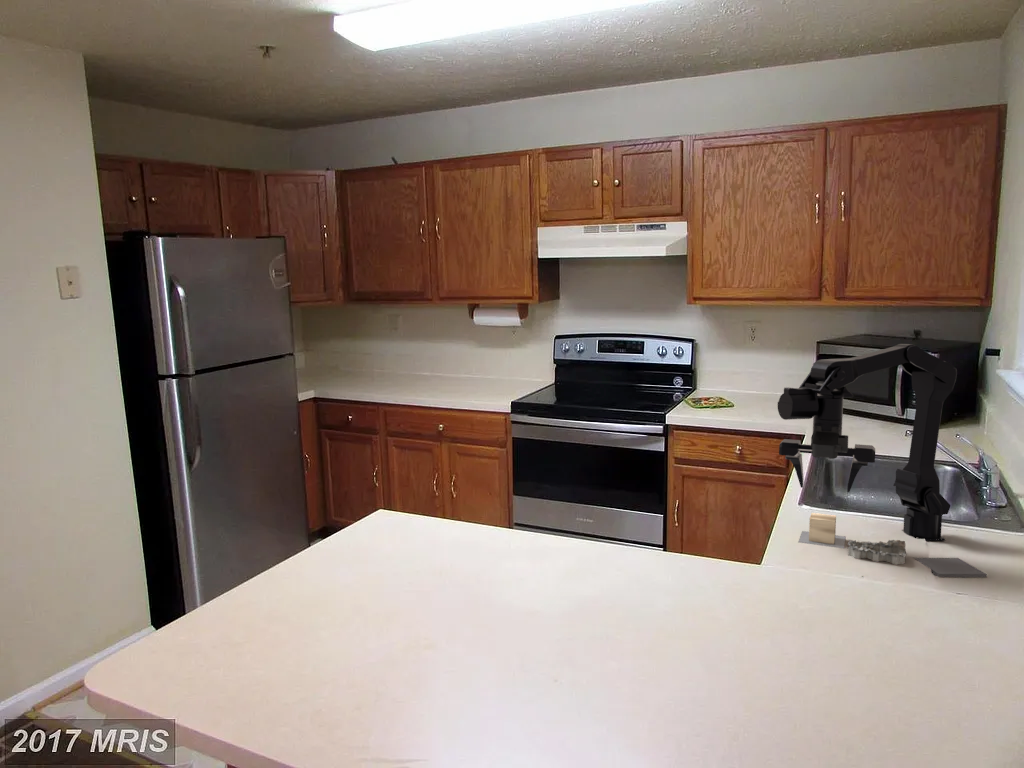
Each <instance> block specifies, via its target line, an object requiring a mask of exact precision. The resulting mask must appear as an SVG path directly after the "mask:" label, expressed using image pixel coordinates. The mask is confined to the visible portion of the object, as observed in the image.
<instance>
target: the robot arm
mask: <svg viewBox="0 0 1024 768" xmlns="http://www.w3.org/2000/svg"><path fill="white" fill-rule="evenodd" d="M897 366H900V367H901V368H902V370H903V371H904V372H905V373H907V374H908V375H910V376H911V388H912V390H913V392H914V394H915V397H916V405H915V413H914V419H913V426H912V427H913V428H912V434H911V442H910V447H909V449H910V450H909V454H908V455H909V456H908V460H907V461H908V462H907V463H906V464H905V466H904V467H903V468H902V469H901V468H897V469H896V471H895V480H894V483H893V487H895V493H896V495H897V496H898V498H899V500H900V503H901V505H902V506H904V507H906V513H905V514H904V515H903V529H901V531H902V532H903V533H904V534H906V535H908V536H910V537H912V538H914V539H917V540H925V541H946V538H945V537H943V536H942V524H943V521H942V520H943V515H948V514H949V512H950V510H951V504H950V503H949V502H948V501H947V500H946V499H945V498H944V496H943V495H942V494H941V493H940V490H941V489H940V488H941V487H940V485H941V484H940V479H939V476H938V473H937V471H936V468H935V461H936V453H937V447H938V440H939V432H940V425H941V420H942V419H941V418H942V413H943V405H944V402H945V400H947V398H948V397H949V396H950V394H951V393H952V392H953V391H954V387H955V383H956V381H957V377H958V376H957V375H958V370H957V368H956V367H955V366H954V365H953V364H952V363H951V362H950V361H945V360H942V359H941V358H939V357H937V356H935V355H933V354H931V353H929V352H926V351H925V350H923V349H921V348H920V347H919V346H917V344H916V345H915V344H913V343H912V344H911V343H910V344H909V343H898V344H896V345H894V346H891V347H886V348H883V349H879V350H875V351H872V352H868V353H864V354H861V355H857V356H853V357H847V358H828V359H827V358H826V359H824V358H823V359H818V360H816V361H815V362H814V363H813V364H812V366H811V367H810V368H811V369H810V371H809V374H807V376H806V377H805V379H804V380H803V381H802V383H801V384H800V385H799V387H796V388H794V387H790V386H789V387H784V388H783V393H782V394H781V395H780V396H779V399H778V401H777V411H778V415H779V416H780V417H781V419H783V420H785V421H787V420H788V421H789V420H810V419H812V418H813V419H812V420H813V421H812V435H811V437H810V444H803V443H801V440H800V439H788V438H784V439H783V440H782V441H780V443H779V446H778V455H780V456H785V460H789V461H790V462H791V463H792V465H793V468H794V469H795V473H796V476H797V479H798V481H799V486H800V488H804V483H805V482H804V481H805V480H804V478H805V477H804V466H803V455H802V453H803V454H811V456H812V457H813V458H818V459H819V458H828V459H829V460H832V459H833V460H834V459H837V458H838V456H841V457H850V458H851V457H852V459H851V466H850V471H849V476H848V480H847V481H848V482H847V488H846V492H847V493H850V492H851V489H852V486H853V485H854V482H855V480H856V477H857V475H858V473H859V472H860V470H861V469H862V467H867V466H868V465H869V464H868V463H876V448H875V447H874V445H870V444H857V443H855V444H854V447H849V435H845V434H843V415H844V414H843V412H844V399H847V398H853V397H854V394H853V393H852V392H851V391H849V390H848V389H847V387H846V386H848V385H849V384H852V383H854V382H855V381H856V380H857V379H858V378H860V377H862V376H864V375H867V374H872V373H876V372H879V371H884V370H887V369H890V368H895V367H897Z"/></svg>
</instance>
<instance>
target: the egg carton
mask: <svg viewBox="0 0 1024 768" xmlns="http://www.w3.org/2000/svg"><path fill="white" fill-rule="evenodd" d="M847 546H848V548H847V556H849V557H852V558H853V559H856V560H857V559H858V560H860V559H869V560H871V561H873V562H882V561H883V562H888V563H891V565H897V566H898V565H900V564H905V560H906V556H907V554H908V553H907V550H906V549H907V548H906V541H904V540H900V539H897V540H896V539H891V540H890V539H888V541H887V542H883V541H879V542H872V541H857V540H854V539H848V542H847Z"/></svg>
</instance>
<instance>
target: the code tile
mask: <svg viewBox="0 0 1024 768" xmlns="http://www.w3.org/2000/svg"><path fill="white" fill-rule="evenodd" d="M846 537H847V536H844V535H837V534H835V542H834V544H829V543H821V542H814V541H809V531H805V530H802V531H801V533H800V536H799V538H798V541H797V543H801V544H808V545H816V546H822V547H823V546H824V547H830V548H836V549H837V548H838V549H845V543H846Z"/></svg>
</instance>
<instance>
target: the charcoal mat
mask: <svg viewBox="0 0 1024 768" xmlns="http://www.w3.org/2000/svg"><path fill="white" fill-rule="evenodd" d="M913 559H915V560H916V561H917V562H919V563H920V564H922V565H924V566H925V567H927V568H928V569H930V570H931V573H932V574H934V575H935V576H936V577H939V578H987V576H988V575H987V573H986V572H984V571H982V570H980V569H979V568H977V567H975V566H973V565H972V564H970V563H968V562H966V561H965V560H963V559H961V558H959V557H913Z"/></svg>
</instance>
